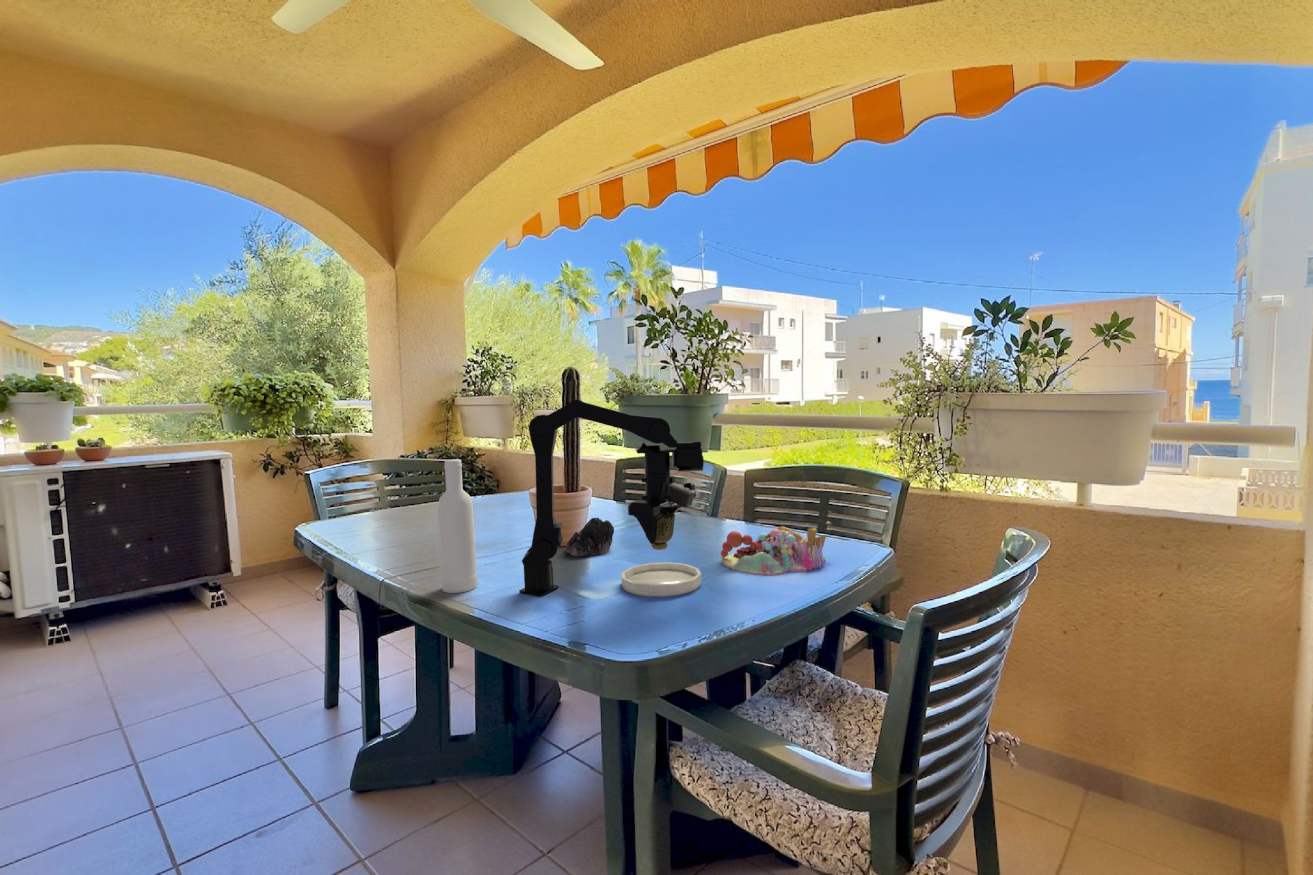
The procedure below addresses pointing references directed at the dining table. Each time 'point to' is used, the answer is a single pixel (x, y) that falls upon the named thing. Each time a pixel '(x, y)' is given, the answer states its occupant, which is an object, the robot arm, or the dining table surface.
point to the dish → (661, 579)
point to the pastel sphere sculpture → (774, 552)
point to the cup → (664, 531)
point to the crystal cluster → (591, 539)
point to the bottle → (456, 533)
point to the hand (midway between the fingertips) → (659, 540)
